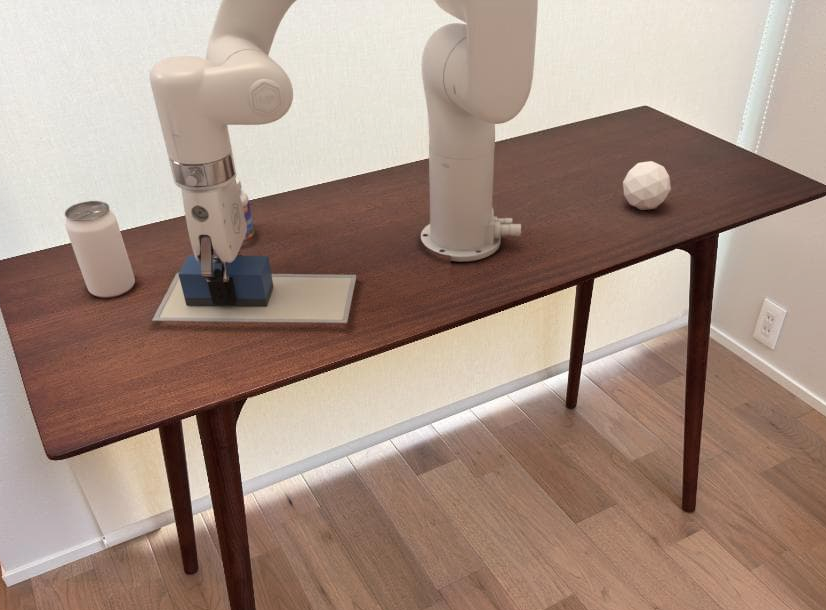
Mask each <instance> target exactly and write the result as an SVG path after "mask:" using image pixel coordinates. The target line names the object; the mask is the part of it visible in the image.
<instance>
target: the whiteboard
mask: <svg viewBox="0 0 826 610" xmlns="http://www.w3.org/2000/svg"><path fill="white" fill-rule="evenodd" d="M178 274H179V272H176V274H175V276H174V278H173V280H172V281H171V283H170V285H169V287H168V288H167V291H166V293H165V294H164V296H163V299H162V301H161V302H160V304H159V306H158V308H157V310H156V312H155V314H154V315H153V318H152V320H151V321H152V322H189V323H190V322H193V323H194V322H199V323H200V322H201V323H203V322H204V323H205V322H206V323H278V324H279V323H282V324H289V323H290V324H292V323H293V324H348V321H349V317H350V311H351V306H352V301H353V297H354V291H355V287H356V281H357V274H327V273H326V274H323V273H322V274H321V273H319V274H318V273H317V274H315V273H313V274H312V273H311V274H309V273H308V274H307V273H271V274H272V280H273V286H274V287H273V290H272V293H271V296H270V299H269V302H268V305H267V307H260V306H187V305H186V302H185V298H184V294H183V290H182V286H181V282H180V279H179V275H178Z"/></svg>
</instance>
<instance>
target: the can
mask: <svg viewBox="0 0 826 610" xmlns="http://www.w3.org/2000/svg"><path fill="white" fill-rule="evenodd" d="M64 217H65V221H64V222H65V224H64V225H65V230H66V232H67V233H66V234H67V236H68V238H69V242H70V244H71V247H72V250H73V252H74V256H75V258H76V261H77V264H78V266H79V270H80V272H81V276H82V277H83V280H84V281H83V282H84V284H85V287H86V288H87V290H88V292H89V294H91V295H92V296H95V297H97V298H101V299H111V298H115V297H119V296H122V295H124V294H126V293H128V292H130V291H131V290H132V288H133V287H134V285H135V283H136V279H135V275H134V271H133V268H132V265H131V262H130V259H129V258H130V257H129V255H128V252H127V249H126V245H125V242H124V239H123V235H122V233H121V229H120V226H119V223H118V220H117V217H116V215H115V213H114V212H113V211H112V210H111V209H110V205H109V204H108V203H106V202H105V201H100V200H87V201H81V202H78V203H75V204H72V205H71V206H69V207H68V208H67V209H66V210H65V211H64Z"/></svg>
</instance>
